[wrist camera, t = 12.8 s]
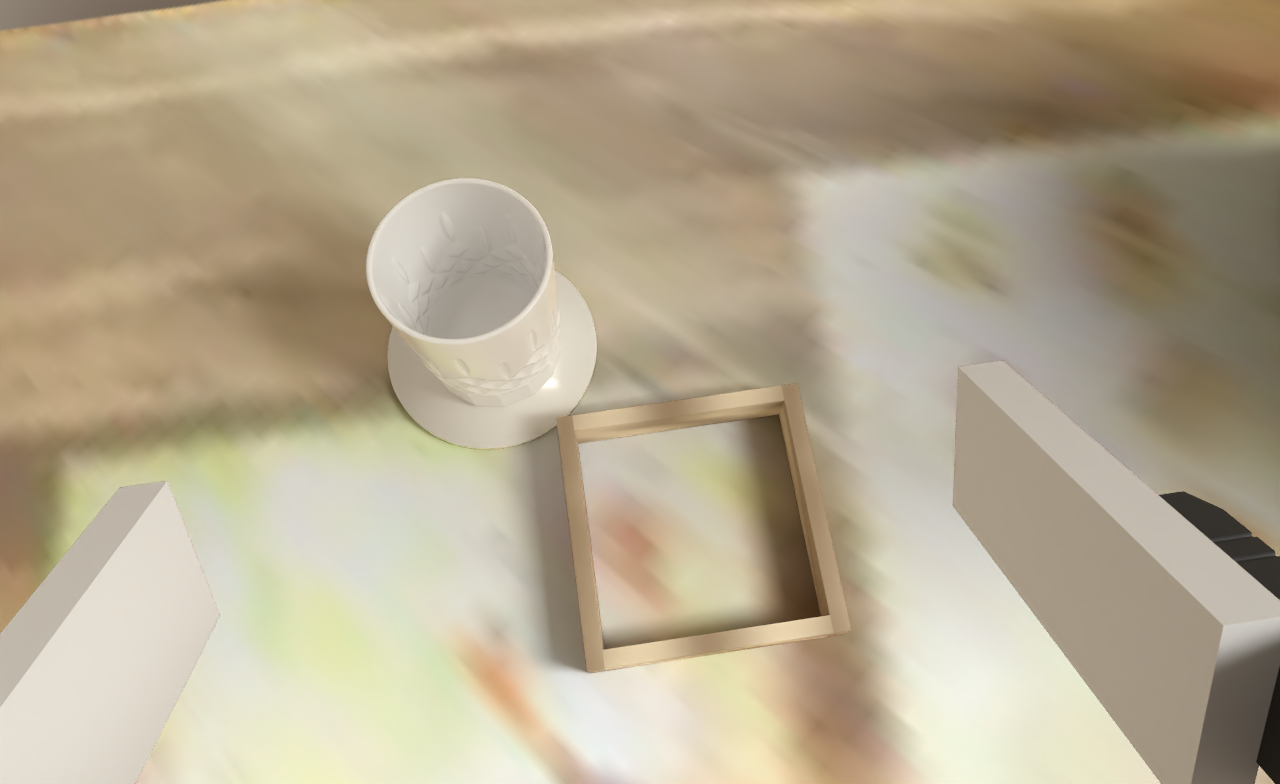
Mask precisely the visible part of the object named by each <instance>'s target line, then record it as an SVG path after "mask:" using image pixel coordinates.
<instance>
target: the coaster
mask: <svg viewBox="0 0 1280 784" xmlns="http://www.w3.org/2000/svg"><path fill="white" fill-rule="evenodd" d="M555 276H556V282H557V288H558V301H559V314H560V325H559V336H560V343H561V352H560V355H559V358H558V361H557V364H556V367H555V370H554V373H553V375H552V377H551V378H550V379H549V380H548V381H547V382H546V383H545V384H544V385H543V386H542V387H541V388H540V389H539V390H538V391H537V392H536V393H535V394H534V395H533V396H532V397H529V398H527V399H524V400H522V401H519V402H517V403H514V404H512V405H509V406H507V407H488V406H475V405H473V404H471V403H469V402H467V401H465V400H463V399H461V398H460V397H458V396H456V395H454V394H452V393H450V392H449V390H448V389H447V388H446V386H445V385H444V384H443V382H442V381H441V380H440V379H439V378H438V377H436V376H435V375H434V374H433V373H432V372H431V371H430V370H429V369H428V368H427V367H426V366H425V365H424V364H423V362H422V361H421V360H420V359H419V358H418V357H417V356H416V355H415V353H414V352H413V351H412V350H411V349H410V348H409V346H408V345H407V344H406V342H405V341H404V340H403V339H402V337H401V336H400V335H399V334H398V332H397V331H396V330H395V329H394V327H393V326H392V330H391V333H390V336H389V343H388V353H387V362H388V370H389V376H390V379H391V383H392V386H393V389H394V391H395V393H396V395H397V398H398V399H399V401H400V402H401V404H402V406H403V407H404V409H405V410H406V411H407V412H408V414H409V415H410V416H411V417H412V418H413V419H414V420H415V421H416V422H417V423H418V424H419V425H420V426H421V427H422V428H424V429H425V430H426V431H428V432H429V433H431V434H432V435H434V436H435V437H437V438H439V439H442V440H444V441H446V442H448V443H451V444H454V445H457V446H461V447H466V448H471V449H483V450H492V449H504V448H508V447H513V446H518V445H521V444H524V443H526V442H529V441H532V440H534V439H536V438H538V437H540V436H542V435H544V434H545V433H547V432H549V431H550V430H552V429H553V428H555V427H556V426H557V421H556V418H557V417H564V416H568V415H569V414H570V413H571V412H572V411H573V410H574V409H575V407H576V406H577V405H578V403H579V402H580V400H581V399H582V398H583V396H584V394H585V392H586V390H587V388H588V386H589V384H590V381H591V379H592V376H593V373H594V368H595V364H596V357H597V338H596V331H595V326H594V321H593V318H592V315H591V313H590V310H589V308H588V306H587V304H586V302H585V300H584V298H583V297H582V295H581V294H580V293H579V291H578V290H577V289H576V287H575V286H574V285H573V284H572V283H571V282H570V281H569V280H568V279H567V278H565V277H564V276H563V275H562V274H560V273H559V272H558V271H556V270H555Z"/></svg>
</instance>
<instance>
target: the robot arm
mask: <svg viewBox="0 0 1280 784" xmlns="http://www.w3.org/2000/svg"><path fill="white" fill-rule="evenodd" d="M953 507H954V508H955V509H956V511H957V512H958V513H959V515H960V516H961V517H962V519H963V520H964V521H965V523H966V524H967V525H968V527H969V528H970V529H971V531H972V532H973V533H974V535H975V536H976V537H977V539H978V540H979V541H980V543H981V544H982V545H983V547H984V548H985V549H986V551H987V552H988V553H989V555H990V556H991V557H992V559H993V560H994V561H995V563H996V564H997V565H998V567H999V568H1000V569H1001V571H1002V572H1003V573H1004V575H1005V576H1006V577H1007V579H1008V580H1009V581H1010V583H1011V584H1012V585H1013V587H1014V588H1015V589H1016V591H1017V592H1018V593H1019V595H1020V596H1021V597H1022V599H1023V600H1024V601H1025V603H1026V604H1027V605H1028V607H1029V608H1030V609H1031V611H1032V612H1033V613H1034V615H1035V616H1036V617H1037V619H1038V620H1039V621H1040V623H1041V624H1042V625H1043V627H1044V628H1045V629H1046V631H1047V632H1048V633H1049V635H1050V636H1051V637H1052V639H1053V640H1054V641H1055V643H1056V644H1057V645H1058V647H1059V648H1060V649H1061V651H1062V652H1063V653H1064V655H1065V656H1066V657H1067V659H1068V660H1069V661H1070V663H1071V664H1072V665H1073V667H1074V668H1075V669H1076V671H1077V672H1078V673H1079V675H1080V676H1081V677H1082V679H1083V680H1084V681H1085V683H1086V684H1087V685H1088V687H1089V688H1090V689H1091V691H1092V692H1093V693H1094V695H1095V696H1096V697H1097V699H1098V700H1099V701H1100V703H1101V704H1102V705H1103V707H1104V708H1105V709H1106V711H1107V712H1108V713H1109V715H1110V716H1111V717H1112V719H1113V720H1114V721H1115V723H1116V724H1117V725H1118V727H1119V728H1120V729H1121V731H1122V732H1123V733H1124V735H1125V736H1126V737H1127V739H1128V740H1129V741H1130V743H1131V744H1132V745H1133V747H1134V748H1135V749H1136V751H1137V752H1138V753H1139V755H1140V756H1141V757H1142V759H1143V760H1144V761H1145V763H1146V764H1147V765H1148V767H1149V768H1150V769H1151V771H1152V772H1153V773H1154V775H1155V776H1156V777H1157V779H1158V780H1159V781H1160V783H1161V784H1254V783H1255V779H1256V775H1257V771H1258V767H1259V766H1260V767H1261V768H1262V769H1263V770H1264V771H1265V773H1266V774H1267V775H1268V776H1269V777H1270V778H1271V779H1272V780H1273V781H1274V783H1275V784H1280V556H1279V557H1277V556H1276V555H1275V551H1274V550H1273V549H1271V548H1270V547H1269V546H1268V545H1266V544H1265V543H1264V542H1263V541H1261V540H1260V539H1259V538H1258V537H1252V535H1251V532H1250V531H1249V530H1248V529H1247V528H1245V527H1244V526H1243V525H1242V524H1240V523H1239V522H1238V521H1237V520H1235V519H1234V518H1233V517H1232V516H1230V515H1229V514H1228V513H1227V512H1225V511H1224V510H1223V509H1221V508H1219V507H1217V506H1214V505H1212V504H1210V503H1208V502H1206V501H1203V500H1201V499H1199V498H1197V497H1195V496H1192V495H1190V494H1188V493H1186V492H1184V491H1183V492H1176V493H1169V494H1163V495H1158V494H1157V493H1155V492H1154V491H1153V490H1152V489H1151V488H1150V487H1149V486H1147V485H1146V484H1145V483H1144V482H1143V481H1142V480H1140V479H1139V478H1138V477H1137V476H1136V475H1135V474H1134V473H1132V472H1131V471H1130V470H1129V469H1128V468H1127V467H1125V466H1124V465H1123V464H1122V463H1121V462H1120V461H1119V460H1117V459H1116V458H1115V457H1114V456H1113V455H1112V454H1110V453H1109V452H1108V451H1107V450H1106V449H1105V448H1104V447H1102V446H1101V445H1100V444H1099V443H1098V442H1097V441H1095V440H1094V439H1093V438H1092V437H1091V436H1090V435H1089V434H1087V433H1086V432H1085V431H1084V430H1083V429H1082V428H1080V427H1079V426H1078V425H1077V424H1076V423H1075V422H1074V421H1072V420H1071V419H1070V418H1069V417H1068V416H1067V415H1065V414H1064V413H1063V412H1062V411H1061V410H1060V409H1059V408H1057V407H1056V406H1055V405H1054V404H1053V403H1052V402H1050V401H1049V400H1048V399H1047V398H1046V397H1045V396H1044V395H1042V394H1041V393H1040V392H1039V391H1038V390H1037V389H1035V388H1034V387H1033V386H1032V385H1031V384H1030V383H1029V382H1027V381H1026V380H1025V379H1024V378H1023V377H1022V376H1020V375H1019V374H1018V373H1017V372H1016V371H1015V370H1014V369H1012V368H1011V367H1010V366H1009V365H1008V364H1007V363H1005V362H1004V361H1003V360H1002V361H995V362H988V363H981V364H974V365H968V366H961V367H958V387H957V412H956V437H955V462H954V487H953ZM219 617H220V613H219V611H218V608H217V606H216V603H215V601H214V598H213V596H212V593H211V590H210V588H209V585H208V583H207V580H206V578H205V575H204V573H203V570H202V568H201V565H200V562H199V560H198V557H197V555H196V552H195V550H194V547H193V545H192V542H191V540H190V537H189V534H188V532H187V529H186V527H185V524H184V522H183V519H182V517H181V514H180V512H179V509H178V506H177V504H176V501H175V499H174V496H173V494H172V491H171V489H170V486H169V484H168V481H162V482H155V483H148V484H141V485H134V486H127V487H120V488H119V489H118V490H117V492H116V493H115V494H114V495H113V496H112V498H111V499H110V500H109V501H108V503H107V504H106V505H105V506H104V507H103V509H102V510H101V511H100V512H99V513H98V515H97V516H96V517H95V518H94V520H93V521H92V522H91V523H90V524H89V526H88V527H87V528H86V529H85V531H84V532H83V533H82V534H81V535H80V537H79V538H78V539H77V540H76V542H75V543H74V544H73V545H72V546H71V548H70V549H69V550H68V551H67V553H66V554H65V555H64V556H63V557H62V559H61V560H60V561H59V562H58V564H57V565H56V566H55V567H54V568H53V570H52V571H51V572H50V573H49V575H48V576H47V577H46V578H45V579H44V581H43V582H42V583H41V584H40V586H39V587H38V588H37V589H36V590H35V592H34V593H33V594H32V595H31V597H30V598H29V599H28V600H27V601H26V603H25V604H24V605H23V606H22V608H21V609H20V610H19V611H18V612H17V614H16V615H15V616H14V617H13V619H12V620H11V621H10V622H9V623H8V625H7V626H6V627H5V628H4V630H3V631H2V632H1V633H0V784H135V783H136V781H137V780H138V778H139V776H140V774H141V772H142V770H143V768H144V766H145V764H146V762H147V760H148V758H149V756H150V754H151V752H152V750H153V748H154V746H155V744H156V742H157V740H158V738H159V736H160V734H161V732H162V730H163V728H164V726H165V724H166V722H167V720H168V718H169V716H170V714H171V712H172V710H173V708H174V706H175V704H176V702H177V700H178V698H179V696H180V694H181V692H182V690H183V688H184V686H185V684H186V682H187V680H188V678H189V676H190V674H191V672H192V670H193V668H194V666H195V664H196V662H197V660H198V658H199V656H200V654H201V652H202V650H203V648H204V646H205V644H206V642H207V640H208V638H209V636H210V634H211V632H212V630H213V628H214V626H215V624H216V622H217V620H218V619H219Z"/></svg>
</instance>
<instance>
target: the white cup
mask: <svg viewBox="0 0 1280 784" xmlns="http://www.w3.org/2000/svg"><path fill="white" fill-rule="evenodd" d="M366 277H367V283H368V287H369V290H370V293H371V296H372V298H373V300H374V302H375V304H376V305H377V307H378V308H379V310H380V311H381V313H382V314H383V315H384V316H385V318H386V319H387V320H388V321H389V322H390V324H391V325H392V326H393V327H394V329H395V330H396V331H397V332H398V334H399V335H400V336H401V337H402V339H403V340H404V341H405V342H406V344H407V345H408V346H409V348H410V349H411V350H412V351H413V352H414V353H415V355H416V356H417V357H418V358H419V359H420V360H421V361H422V362H423V364H424V365H425V366H426V367H427V368H428V369H429V370H430V371H431V372H432V373H433V374H434V375H435V376H436V377H438V378H439V379H440V380H441V381H442V382H443V384H444V385H445V386H446V388H447V389H448V390H449V392H450V393H452V394H454V395H456V396H458V397H460V398H461V399H463V400H465V401H467V402H469V403H471V404H473V405H475V406H488V407H507V406H509V405H512V404H514V403H517V402H519V401H522V400H524V399H527V398H529V397H532V396H533V395H534V394H535V393H536V392H537V391H538V390H539V389H540V388H541V387H542V386H543V385H544V384H545V383H546V382H547V381H548V380H549V379H550V378H551V377H552V375H553V373H554V370H555V367H556V364H557V361H558V358H559V355H560V352H561V343H560V336H559V325H560V314H559V301H558V288H557V282H556V276H555V268H554V259H553V251H552V244H551V239H550V235H549V232H548V229H547V226H546V224H545V222H544V220H543V219H542V217H541V215H540V214H539V212H538V211H537V210H536V209H535V207H534V206H533V205H532V204H531V203H530V202H529V201H528V200H527V199H526V198H524V197H523V196H522V195H520V194H519V193H517V192H516V191H514V190H512V189H511V188H509V187H506V186H504V185H502V184H499V183H496V182H493V181H489V180H484V179H477V178H455V179H448V180H443V181H439V182H435V183H432V184H429V185H427V186H424V187H422V188H420V189H418V190H416V191H414V192H412V193H411V194H409V195H407V196H406V197H404V198H403V199H402V200H400V201H399V202H398V203H397V204H396V205H395V206H394V207H393V208H391V210H390V211H389V212H388V213H387V214H386V215H385V216H384V218H383V219H382V220H381V222H380V223H379V225H378V227H377V228H376V230H375V232H374V234H373V236H372V239H371V241H370V244H369V248H368V252H367V258H366Z"/></svg>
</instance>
